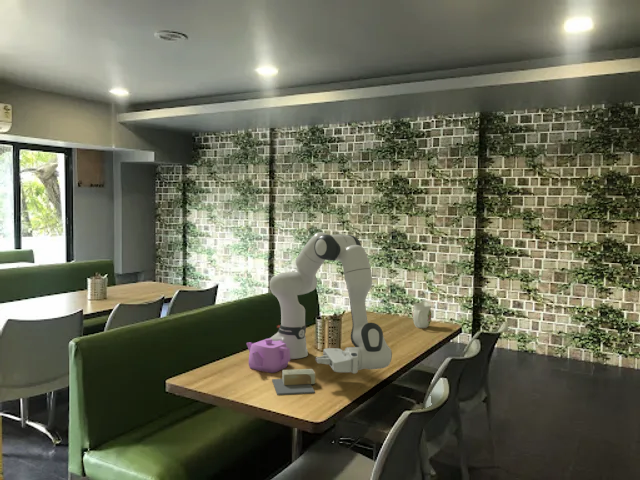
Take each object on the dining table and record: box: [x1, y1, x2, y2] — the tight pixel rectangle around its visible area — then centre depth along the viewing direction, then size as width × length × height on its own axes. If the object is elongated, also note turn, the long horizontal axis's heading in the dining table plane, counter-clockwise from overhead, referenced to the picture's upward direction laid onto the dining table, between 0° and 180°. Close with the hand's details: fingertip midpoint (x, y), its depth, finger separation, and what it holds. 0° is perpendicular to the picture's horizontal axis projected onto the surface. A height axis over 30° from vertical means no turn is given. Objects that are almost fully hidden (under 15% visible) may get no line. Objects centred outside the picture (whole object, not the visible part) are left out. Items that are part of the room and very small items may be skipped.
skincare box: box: [281, 368, 316, 385], centre depth 203 cm, size 6×4×12 cm
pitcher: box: [412, 301, 432, 329], centre depth 305 cm, size 11×18×14 cm, turn 157°
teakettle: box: [246, 337, 291, 374], centre depth 223 cm, size 17×17×12 cm
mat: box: [271, 378, 316, 396], centre depth 200 cm, size 14×16×1 cm
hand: (316, 360), depth 201 cm, fingers closed
